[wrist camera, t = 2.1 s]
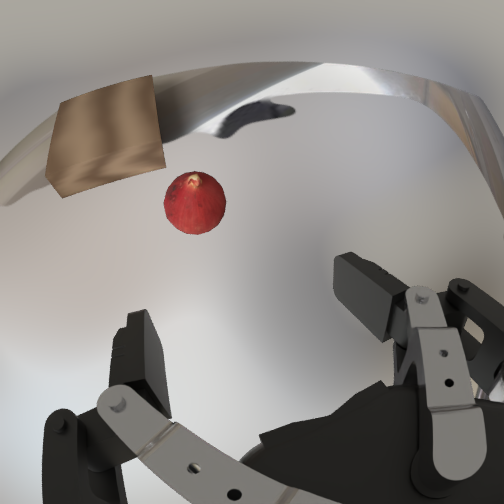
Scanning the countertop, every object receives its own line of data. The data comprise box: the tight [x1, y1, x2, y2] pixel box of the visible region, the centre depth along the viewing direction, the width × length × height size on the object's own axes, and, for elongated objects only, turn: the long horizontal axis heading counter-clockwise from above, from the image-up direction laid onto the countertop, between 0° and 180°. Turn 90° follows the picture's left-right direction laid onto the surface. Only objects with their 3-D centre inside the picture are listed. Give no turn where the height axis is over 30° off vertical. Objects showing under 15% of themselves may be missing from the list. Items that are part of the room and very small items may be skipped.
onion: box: [164, 171, 226, 235], centre depth 25 cm, size 6×6×8 cm
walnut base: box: [45, 75, 166, 198], centre depth 29 cm, size 14×14×5 cm
